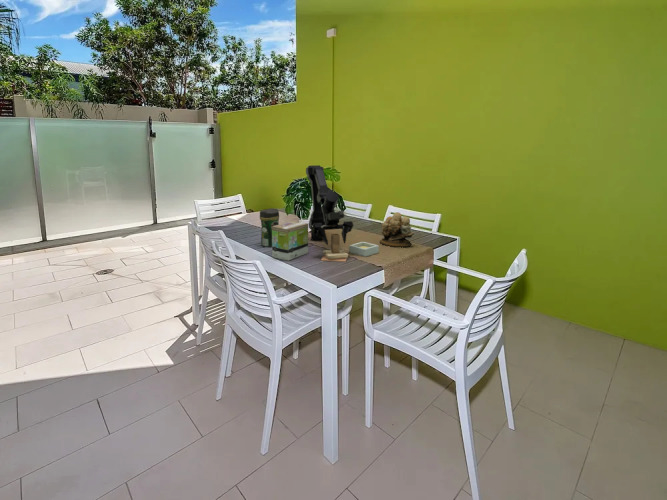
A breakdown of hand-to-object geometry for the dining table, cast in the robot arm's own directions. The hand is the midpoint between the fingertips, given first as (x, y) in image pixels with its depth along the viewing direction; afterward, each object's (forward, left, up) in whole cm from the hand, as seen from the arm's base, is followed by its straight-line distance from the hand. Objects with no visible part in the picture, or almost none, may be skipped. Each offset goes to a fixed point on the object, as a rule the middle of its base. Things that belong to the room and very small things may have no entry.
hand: (336, 243), depth 168 cm
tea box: (-22, +1, -7) cm, 23 cm away
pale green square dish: (+11, +12, -7) cm, 18 cm away
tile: (-1, +1, -7) cm, 7 cm away
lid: (-1, +1, -6) cm, 6 cm away
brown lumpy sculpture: (+26, +29, -7) cm, 40 cm away
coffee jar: (-37, +16, -7) cm, 41 cm away
